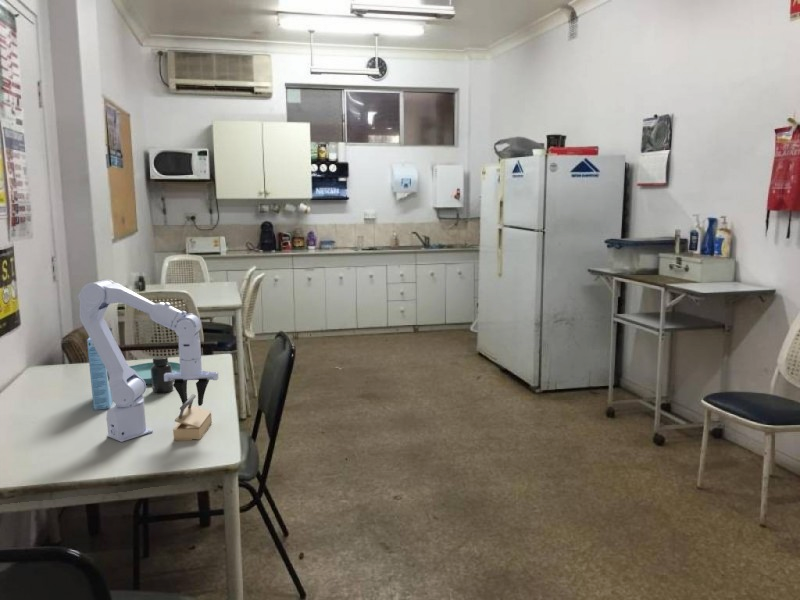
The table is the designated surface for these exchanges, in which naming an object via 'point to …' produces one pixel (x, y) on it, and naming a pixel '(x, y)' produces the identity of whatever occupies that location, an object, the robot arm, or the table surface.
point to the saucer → (145, 370)
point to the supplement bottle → (161, 375)
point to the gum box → (99, 379)
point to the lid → (192, 414)
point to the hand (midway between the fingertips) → (193, 404)
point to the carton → (190, 430)
